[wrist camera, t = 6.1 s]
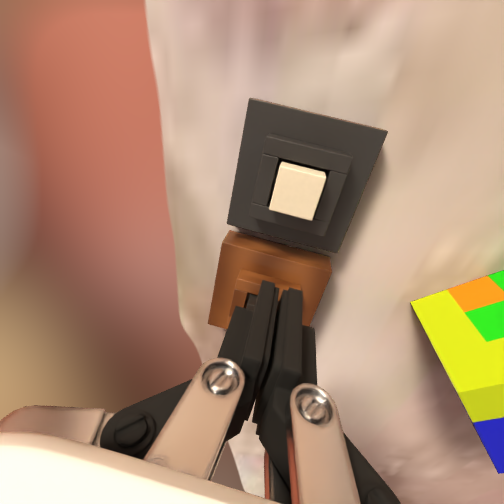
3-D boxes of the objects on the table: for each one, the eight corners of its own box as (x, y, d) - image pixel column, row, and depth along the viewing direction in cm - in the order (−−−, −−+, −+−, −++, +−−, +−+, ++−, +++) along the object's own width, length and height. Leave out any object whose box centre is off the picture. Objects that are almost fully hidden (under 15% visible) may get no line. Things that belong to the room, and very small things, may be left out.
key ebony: (280, 301, 25) (279, 312, 24) (273, 324, 27) (271, 335, 25) (250, 293, 25) (247, 303, 24) (244, 316, 27) (241, 327, 25)
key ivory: (325, 171, 20) (326, 177, 19) (311, 213, 22) (311, 221, 20) (281, 161, 20) (279, 165, 19) (271, 202, 22) (268, 210, 20)
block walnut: (330, 256, 27) (334, 282, 23) (300, 331, 32) (299, 363, 28) (229, 229, 27) (216, 250, 24) (215, 307, 32) (202, 335, 28)
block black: (381, 128, 21) (395, 133, 18) (335, 243, 26) (339, 264, 23) (254, 98, 22) (244, 97, 18) (232, 215, 27) (220, 232, 23)
